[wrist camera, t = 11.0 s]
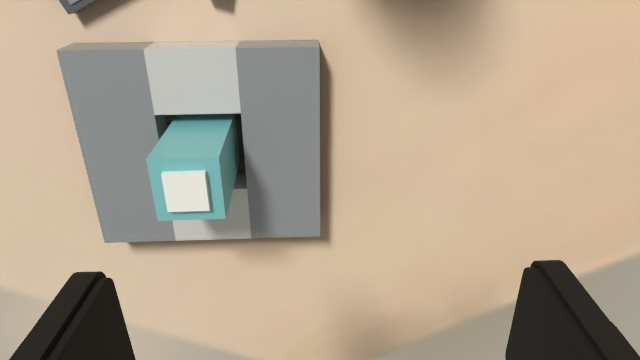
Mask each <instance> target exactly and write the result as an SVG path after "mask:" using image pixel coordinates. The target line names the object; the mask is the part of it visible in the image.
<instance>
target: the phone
mask: <svg viewBox="0 0 640 360" xmlns="http://www.w3.org/2000/svg"><path fill="white" fill-rule="evenodd" d="M59 1H60V3H61V4H62V5H63V7H64V8H65V10H66V11H67V13H68V14H73V13H76V12H78V11H79V10H81V9H83V8H85V7H87V6H88V5H90V4H92V3H94V2H96V1H98V0H59Z"/></svg>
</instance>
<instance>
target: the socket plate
mask: <svg viewBox="0 0 640 360" xmlns="http://www.w3.org/2000/svg"><path fill="white" fill-rule="evenodd" d="M57 54H58V58H59V62H60V66H61V70H62V74H63V78H64V82H65V86H66V90H67V94H68V98H69V102H70V106H71V110H72V114H73V118H74V122H75V126H76V130H77V134H78V138H79V142H80V146H81V150H82V154H83V158H84V162H85V166H86V170H87V174H88V178H89V182H90V186H91V190H92V194H93V198H94V202H95V206H96V210H97V214H98V218H99V222H100V226H101V230H102V234H103V238H104V242H105V243H115V242H148V241H182V240H215V239H248V238H282V237H315V236H320V47H319V43H318V40H289V41H209V42H129V43H73V44H70V45H68V46H66V47H63V48H61V49H59V50H57ZM233 113H241V121H242V133H243V145H244V158H245V170H246V174H237V176H236V180H235V184H234V188H233V192H232V196H231V200H230V204H229V208H228V212H227V216H226V219H201V220H169V221H158V220H157V215H156V209H155V204H154V199H153V194H152V188H151V183H150V178H149V173H148V167H147V162H146V158H147V157H148V155H149V154H150V152H151V151H152V150H153V148H154V147H155V145H156V144H157V143H158V141H159V140H160V138H161V137H162V135H163V134H164V133H165V131H166V130H167V122H166V115H180V114H233Z"/></svg>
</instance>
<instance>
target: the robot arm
mask: <svg viewBox="0 0 640 360" xmlns="http://www.w3.org/2000/svg"><path fill="white" fill-rule="evenodd" d="M9 360H135V356H134V353H133V349H132V346H131V342H130V338H129V335H128V331H127V328H126V324H125V321H124V317H123V314H122V310H121V307H120V303H119V299H118V296H117V292H116V289H115V285H114V282H113V280H112V279H111V278H106V276H105V274H104V273H103V272H76V273H74V274H73V275H72V276H71V277H70V278H69V279H68V281H67V282H66V283H65V285H64V286H63V288H62V289H61V290H60V292H59V293H58V294H57V296H56V297H55V299H54V300H53V301H52V303H51V304H50V305H49V307H48V308H47V309H46V311H45V312H44V314H43V315H42V316H41V318H40V319H39V320H38V322H37V323H36V325H35V326H34V327H33V329H32V330H31V331H30V333H29V334H28V335H27V337H26V338H25V339H24V341H23V342H22V343H21V344H20V346H19V347H18V349H17V350H16V351H15V353H14V354H13V356H12V357H11V358H10V359H9ZM506 360H640V356H639V355H638V354H637V353H636V351H635V350H634V349H633V348H632V346H631V345H630V344H629V343H628V341H627V340H626V339H625V337H624V336H623V335H622V334H621V332H620V331H619V330H618V329H617V327H616V326H615V325H614V324H613V323H612V322H610V321H609V319H608V318H607V317H606V315H605V314H604V313H603V312H602V311H601V309H600V308H599V306H598V305H597V304H596V303H595V301H594V300H593V299H592V297H591V296H590V295H589V294H588V292H587V291H586V290H585V289H584V287H583V286H582V285H581V283H580V282H579V281H578V280H577V278H576V277H575V276H574V274H573V273H572V272H571V271H570V269H569V268H568V267H567V265H566V264H565V263H564V262H563V261H560V260H548V261H534V262H533V263H532V264H531V267H527V268H525V269H524V271H523V275H522V279H521V284H520V289H519V293H518V298H517V303H516V307H515V312H514V316H513V321H512V326H511V330H510V335H509V340H508V344H507V349H506Z"/></svg>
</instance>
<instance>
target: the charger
mask: <svg viewBox="0 0 640 360" xmlns="http://www.w3.org/2000/svg"><path fill="white" fill-rule="evenodd" d="M146 162H147V167H148V173H149V178H150V183H151V188H152V194H153V199H154V204H155V209H156V215H157V220H158V221H169V220H201V219H226V216H227V212H228V208H229V204H230V200H231V196H232V192H233V188H234V184H235V180H236V176H237V172H238V168H239V164H240V160H239V149H238V138H237V127H236V116H235V113H233V114H180V115H176V117H175V118H174V120H173V121H172V123H171V124H170V125H169V127H168V128H167V130H166V131H165V133H164V134H163V135H162V137H161V138H160V140H159V141H158V143H157V144H156V145H155V147H154V148H153V150H152V151H151V152H150V154H149V155H148V157H147V158H146Z"/></svg>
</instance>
